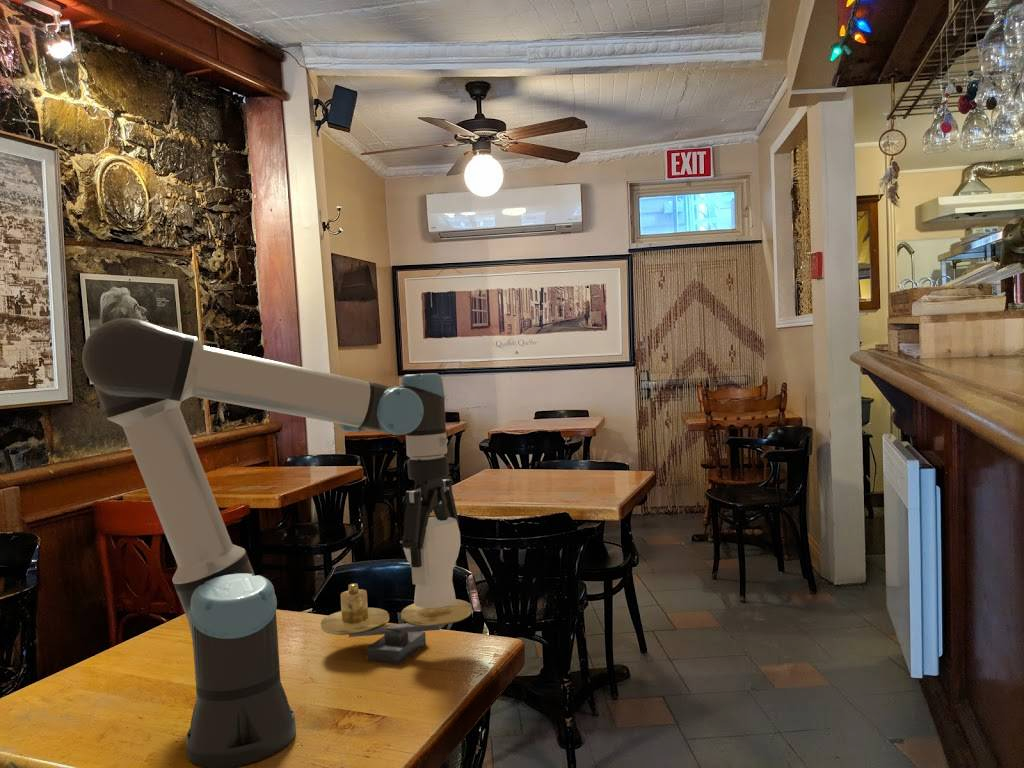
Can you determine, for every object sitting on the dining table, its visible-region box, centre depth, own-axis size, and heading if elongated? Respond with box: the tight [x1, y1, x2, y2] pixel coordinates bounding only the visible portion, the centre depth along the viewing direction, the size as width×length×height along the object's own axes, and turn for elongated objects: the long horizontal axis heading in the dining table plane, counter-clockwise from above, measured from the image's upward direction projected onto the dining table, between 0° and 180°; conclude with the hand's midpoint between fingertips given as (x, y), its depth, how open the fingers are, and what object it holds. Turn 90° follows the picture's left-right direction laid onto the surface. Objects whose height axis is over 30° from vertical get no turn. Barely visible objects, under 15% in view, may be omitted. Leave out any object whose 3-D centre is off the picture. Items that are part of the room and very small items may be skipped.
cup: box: [402, 516, 461, 608], centre depth 136 cm, size 11×11×15 cm
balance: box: [320, 583, 473, 665], centre depth 140 cm, size 13×31×12 cm, turn 69°
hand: (435, 575), depth 137 cm, fingers closed on cup, 11 cm apart
